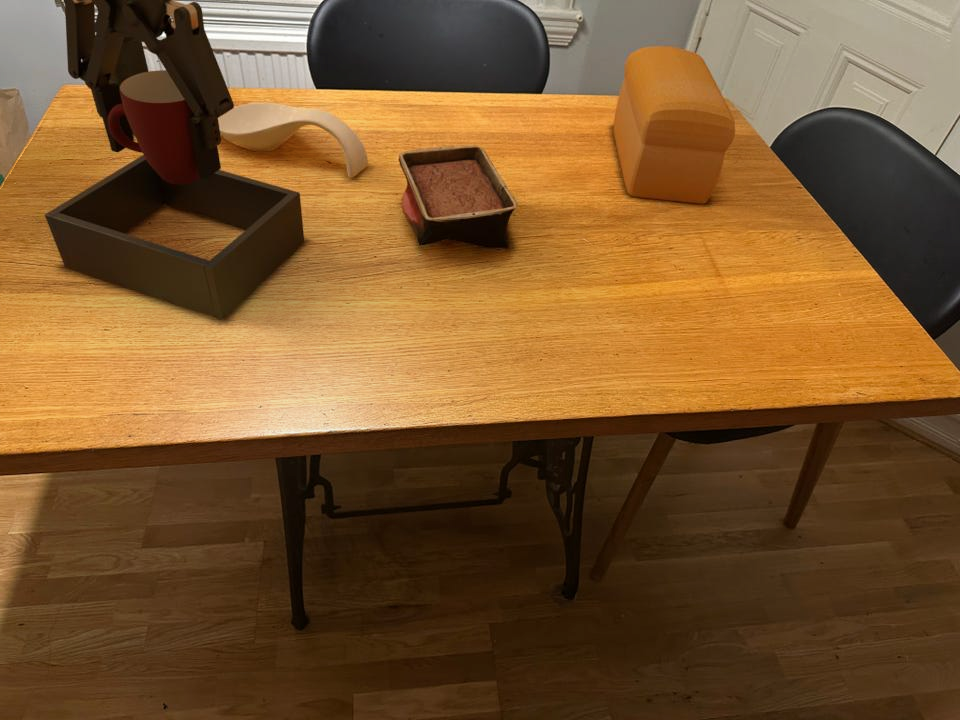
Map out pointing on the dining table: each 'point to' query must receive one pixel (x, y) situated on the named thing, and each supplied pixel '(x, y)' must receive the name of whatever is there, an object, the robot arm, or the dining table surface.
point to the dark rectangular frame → (165, 271)
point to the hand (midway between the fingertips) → (166, 159)
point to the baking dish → (456, 197)
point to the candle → (129, 60)
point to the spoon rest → (287, 129)
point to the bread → (671, 126)
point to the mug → (157, 125)
